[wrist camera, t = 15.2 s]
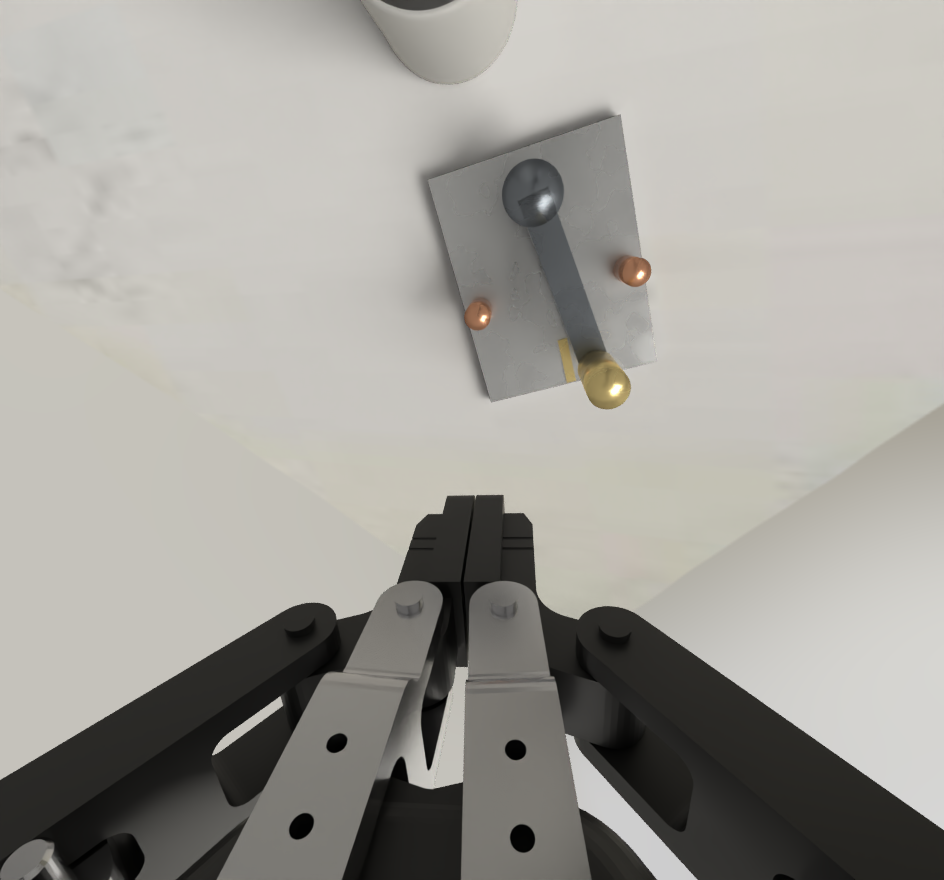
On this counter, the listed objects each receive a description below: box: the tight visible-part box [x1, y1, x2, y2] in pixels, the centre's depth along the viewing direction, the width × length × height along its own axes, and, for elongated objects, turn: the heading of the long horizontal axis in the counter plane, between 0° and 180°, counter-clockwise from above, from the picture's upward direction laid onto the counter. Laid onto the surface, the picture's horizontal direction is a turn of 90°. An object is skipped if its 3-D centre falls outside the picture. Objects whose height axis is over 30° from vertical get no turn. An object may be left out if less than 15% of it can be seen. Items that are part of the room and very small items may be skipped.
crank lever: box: [502, 158, 631, 409], centre depth 31 cm, size 15×4×7 cm, turn 24°
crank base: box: [428, 114, 657, 402], centre depth 34 cm, size 16×13×4 cm
